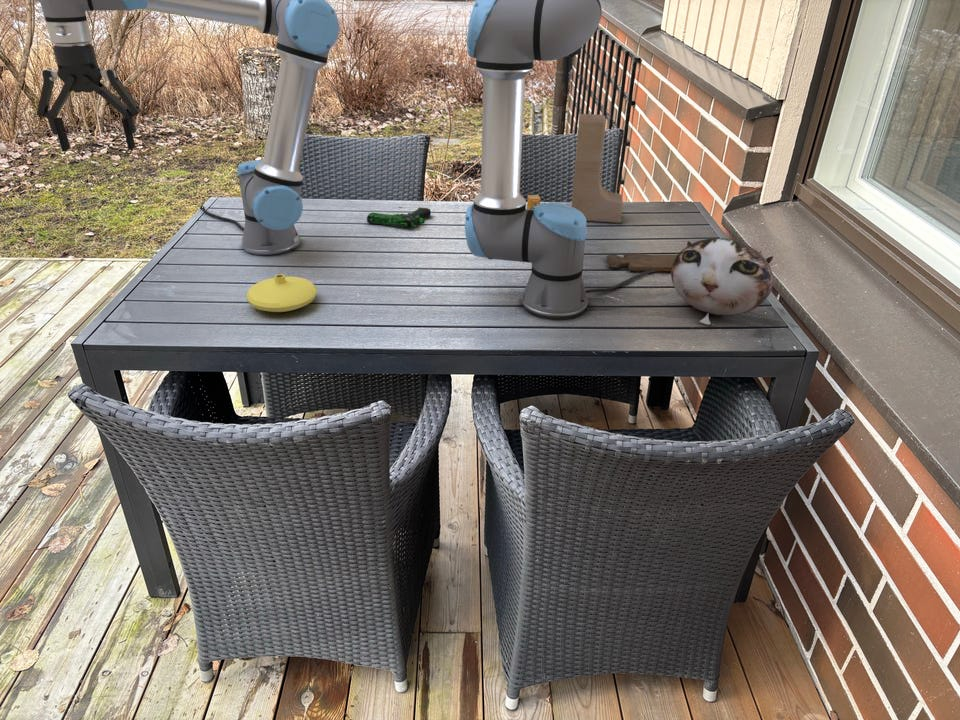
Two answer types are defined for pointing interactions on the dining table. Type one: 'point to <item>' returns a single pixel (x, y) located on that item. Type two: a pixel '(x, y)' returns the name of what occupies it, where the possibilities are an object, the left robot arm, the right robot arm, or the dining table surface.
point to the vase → (281, 293)
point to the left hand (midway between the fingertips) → (99, 149)
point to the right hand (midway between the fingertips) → (540, 83)
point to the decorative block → (593, 174)
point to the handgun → (401, 218)
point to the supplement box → (533, 201)
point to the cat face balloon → (722, 277)
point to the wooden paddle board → (642, 262)
